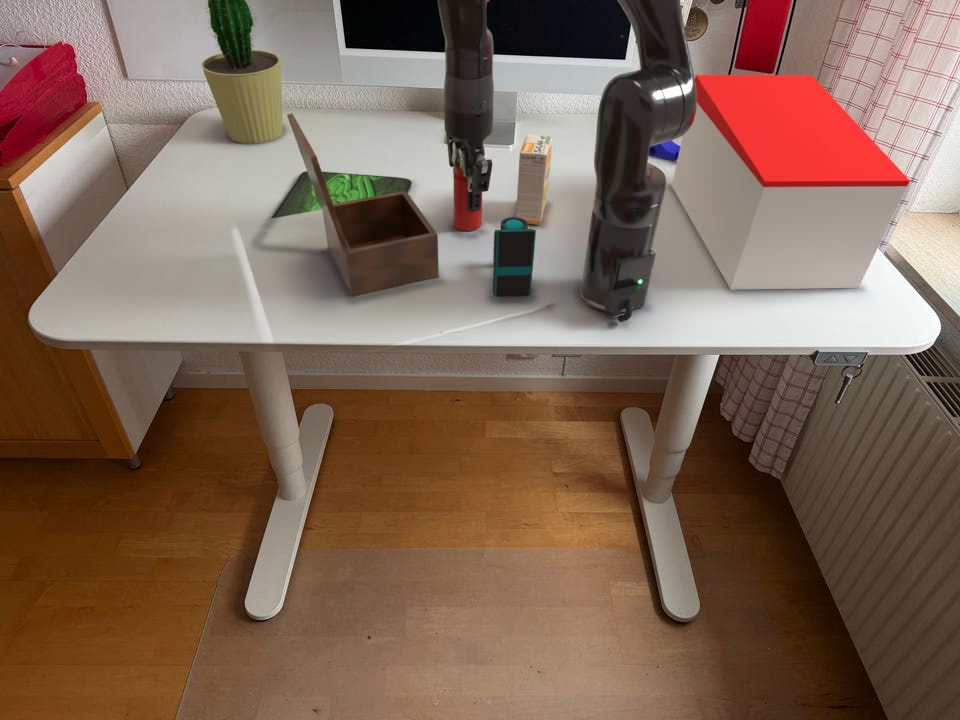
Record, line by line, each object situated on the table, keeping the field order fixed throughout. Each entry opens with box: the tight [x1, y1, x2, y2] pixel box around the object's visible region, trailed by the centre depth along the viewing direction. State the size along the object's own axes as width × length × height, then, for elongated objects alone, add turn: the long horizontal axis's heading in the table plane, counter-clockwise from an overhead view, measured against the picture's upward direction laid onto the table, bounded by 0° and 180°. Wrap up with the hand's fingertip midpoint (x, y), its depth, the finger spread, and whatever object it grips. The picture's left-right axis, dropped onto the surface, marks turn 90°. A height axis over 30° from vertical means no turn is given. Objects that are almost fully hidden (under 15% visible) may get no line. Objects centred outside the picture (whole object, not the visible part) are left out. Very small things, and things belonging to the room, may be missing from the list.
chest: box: [322, 191, 440, 298], centre depth 105 cm, size 14×15×8 cm
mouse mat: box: [270, 170, 413, 219], centre depth 120 cm, size 27×22×1 cm
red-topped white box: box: [671, 74, 911, 291], centre depth 111 cm, size 21×35×21 cm, turn 3°
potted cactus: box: [201, 0, 284, 145], centre depth 135 cm, size 15×15×30 cm
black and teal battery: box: [492, 216, 537, 298], centre depth 101 cm, size 6×12×10 cm
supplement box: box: [515, 133, 554, 226], centre depth 117 cm, size 8×5×13 cm, turn 168°
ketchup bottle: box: [453, 159, 483, 232], centre depth 112 cm, size 5×5×12 cm
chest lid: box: [286, 113, 348, 251], centre depth 94 cm, size 15×15×1 cm
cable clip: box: [648, 140, 681, 162], centre depth 138 cm, size 12×4×6 cm, turn 58°
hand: (467, 202), depth 113 cm, fingers closed on ketchup bottle, 5 cm apart
